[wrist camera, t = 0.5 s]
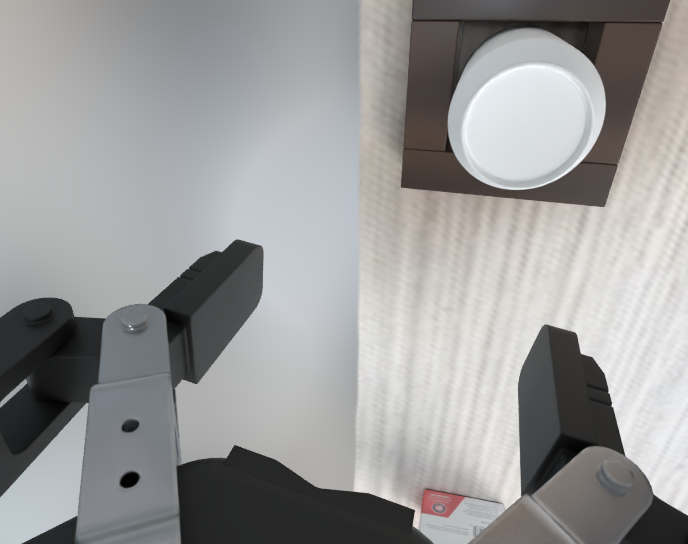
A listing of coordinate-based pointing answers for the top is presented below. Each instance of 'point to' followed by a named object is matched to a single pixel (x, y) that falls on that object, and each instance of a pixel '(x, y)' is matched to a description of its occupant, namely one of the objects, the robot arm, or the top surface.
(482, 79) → the beverage can
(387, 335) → the top surface
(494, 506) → the ink cartridge box
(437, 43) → the can stand
